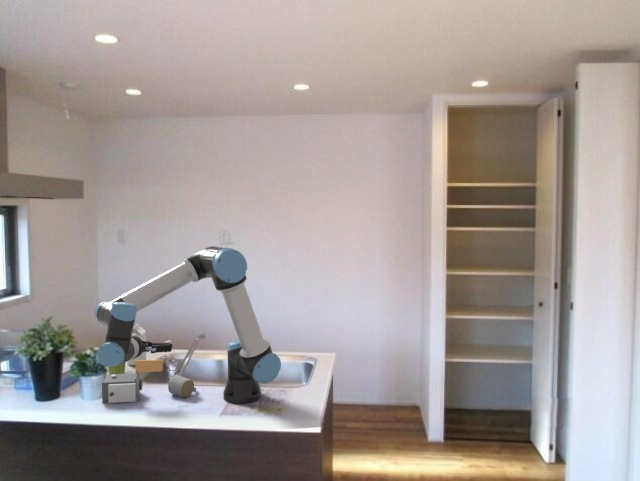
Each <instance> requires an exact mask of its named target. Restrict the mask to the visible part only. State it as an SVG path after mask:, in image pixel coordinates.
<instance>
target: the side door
mask: <svg viewBox="0 0 640 481" xmlns="http://www.w3.org/2000/svg"><path fill="white" fill-rule="evenodd" d="M163 362H164V361H163V359H148V360H147V359H146V360H138V361H135V365H134V366H135V373H136V383H129V384H109V385H108V400H109V404H112V403H115V404H116V403H135V402H140V392H139V379H140V373H155V372H158V373H159V372H160V373H161V372H163V371H164V366H163V365H164V363H163Z"/></svg>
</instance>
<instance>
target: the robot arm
mask: <svg viewBox="0 0 640 481" xmlns="http://www.w3.org/2000/svg"><path fill="white" fill-rule="evenodd" d="M247 271H248V262H247V260H246V257H245V255H243V254H242V253H241V252H240V251H238V250H236V249H234V248H231V247H220V246H207V247H206V248H202V249H201V250H199V251H197V252H195V253H193V254H191V255H188V256H187V257H185V258H184V259H182V262H181V263H180V264H178V265H177V266H174V267H172V268H170V269H169V270H167V271H165V272H163V273H161V274H159V275H158V276H156V277H153V278H152V279H150V280H148V281H147V282H144V283H143V284H141V285H139V286H137V287H136V288H133V289H131V290H130V291H128V292H126V293H124V294H122V295H121V296H119V297H116V298H115V299H113V300H111V301H102V302H100V303H99V304H98V305H97V306H96V308H95V310H94V316H95V319H96V320H97V322H99V323H100V324H101V325H103V326H105V327H107V329H106V335H105V340H104V343H103V344H102V345H100V346H99V348H98V350H97V352H96V357H97V361H98V362H99V363H100V365H102V366H103V367H107V368H108V367H112V366H116V365H120V364H121V363H124V362H127V361H129V360H131V359H134V358H137V357H139V356H140V355H141V354H142V353H143V352H146V353H149V352H150V354H156V353H168V352H169V353H170V352H172V351H173V350H172V349H173V344H172V340H171V339H169V340H166V341H163V342H151V341H149V340H146V341H142V340H141V339H140V338H139V337H136V336H137V334H132V332H133V327H134V326H135V322H136V318H137V313H138V312H140V311H141V310H143V309H146V308H147V307H149V306H151V305H152V304H154V303H156V302H157V301H159V300H161V299H163V298H165V297H166V296H168V295H170V294H172V293H174V292H176V291H177V290H180V289H181V288H183V287H184V286H186V285H188V284H190V283H193V282H194V283H197V282H199V281H201V280H203V279H208V278H209V279H211V280H212V282H213V286H214V287H215V290H216V291H218V292H220V293H221V294H222V297H223V299H224V302H225V305H226V308H227V310H228V313H229V316H230V318H231V321H232V324H233V327H234V329H235V333H236V335H237V337H238V340H237V339H236V340H232V341H230V342H228V345H227V351H226V352H227V381H226V384H225V387H224V389H223V400H224V401H226V402H228V403H231V404H238V405H239V404H248V403H253V402H257V401H258V400H260V399H261V398H262V389H261V385H260V384H269V383H271V382H273V381H274V380H275V379H276V378H277V377H278V376H279V373H280V371H281V368H282V361H281V358H280V356H279V355H277V354H276V353H273V352H274V351H273V350H272V347H271V344H270V342H269V341H268V340H267V339H264V337H263V334H262V331H261V329H260V325H259V321H258V319H257V317H256V314H255V311H254V307H253V304H252V303H251V300H250V296H249V294H248V291H247V287H246V285H245V283H246V281H247V274H246V273H247Z"/></svg>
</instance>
